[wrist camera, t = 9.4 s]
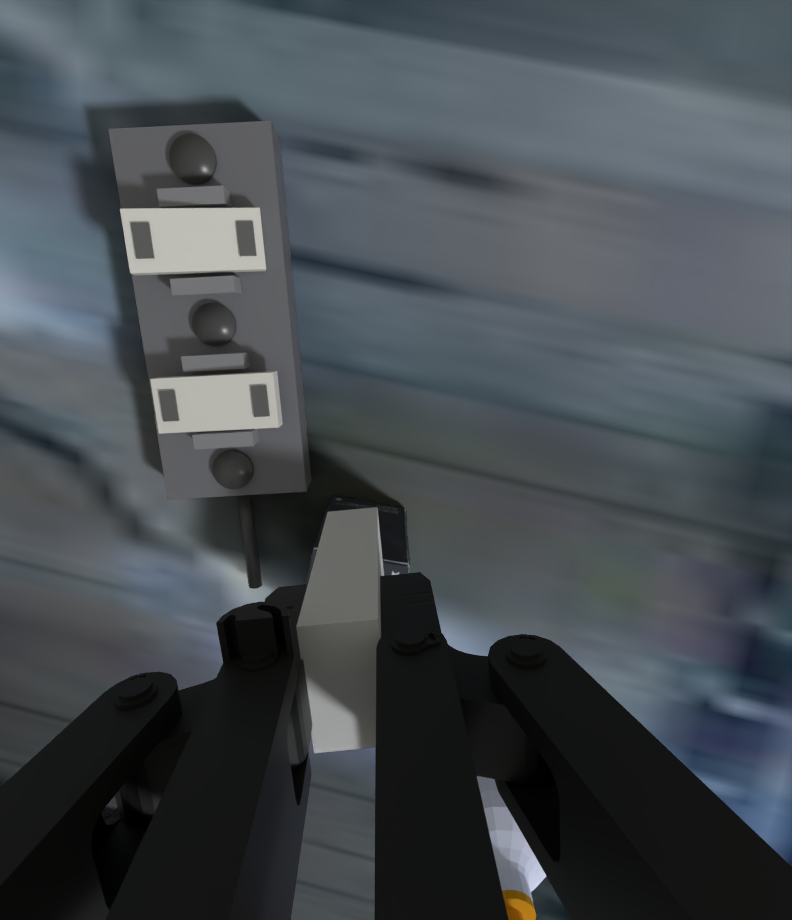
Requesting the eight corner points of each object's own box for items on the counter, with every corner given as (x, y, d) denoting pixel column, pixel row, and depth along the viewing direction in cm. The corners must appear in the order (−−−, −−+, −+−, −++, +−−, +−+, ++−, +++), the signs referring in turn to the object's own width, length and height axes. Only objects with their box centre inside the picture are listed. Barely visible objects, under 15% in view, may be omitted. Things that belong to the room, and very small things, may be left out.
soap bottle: (410, 774, 49) (437, 1198, 25) (436, 689, 47) (492, 1061, 23) (505, 792, 50) (618, 1220, 26) (535, 709, 48) (687, 1090, 24)
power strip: (197, 582, 44) (176, 611, 40) (129, 144, 36) (94, 119, 32) (320, 574, 44) (313, 602, 40) (279, 137, 37) (265, 110, 32)
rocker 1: (134, 275, 34) (129, 273, 33) (124, 212, 33) (119, 208, 32) (266, 271, 36) (266, 269, 34) (259, 211, 35) (259, 207, 33)
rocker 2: (166, 430, 37) (157, 434, 36) (158, 377, 36) (149, 379, 35) (282, 424, 37) (278, 427, 36) (277, 370, 36) (272, 372, 35)
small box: (326, 492, 43) (308, 544, 32) (408, 506, 43) (416, 561, 33) (306, 612, 45) (284, 696, 35) (384, 624, 46) (384, 710, 35)
